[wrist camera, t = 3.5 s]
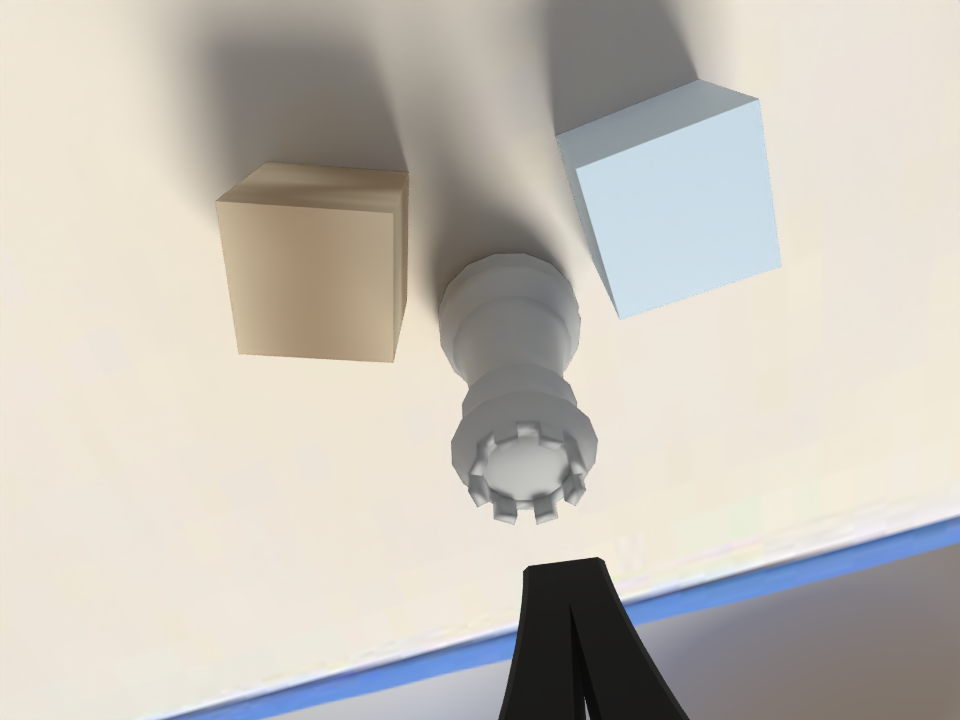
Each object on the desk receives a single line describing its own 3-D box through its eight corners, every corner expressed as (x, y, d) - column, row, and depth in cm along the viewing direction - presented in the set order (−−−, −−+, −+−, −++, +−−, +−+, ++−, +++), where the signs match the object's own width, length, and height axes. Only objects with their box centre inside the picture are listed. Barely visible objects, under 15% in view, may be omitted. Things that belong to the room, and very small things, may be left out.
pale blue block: (697, 78, 16) (759, 99, 13) (722, 216, 18) (781, 266, 14) (554, 135, 17) (575, 168, 13) (593, 261, 19) (620, 319, 15)
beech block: (408, 171, 17) (393, 213, 14) (407, 298, 19) (393, 363, 16) (267, 161, 17) (215, 201, 14) (280, 290, 19) (238, 353, 16)
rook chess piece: (423, 262, 18) (394, 415, 12) (567, 233, 18) (626, 373, 11) (455, 381, 21) (447, 568, 14) (584, 358, 20) (642, 539, 13)
